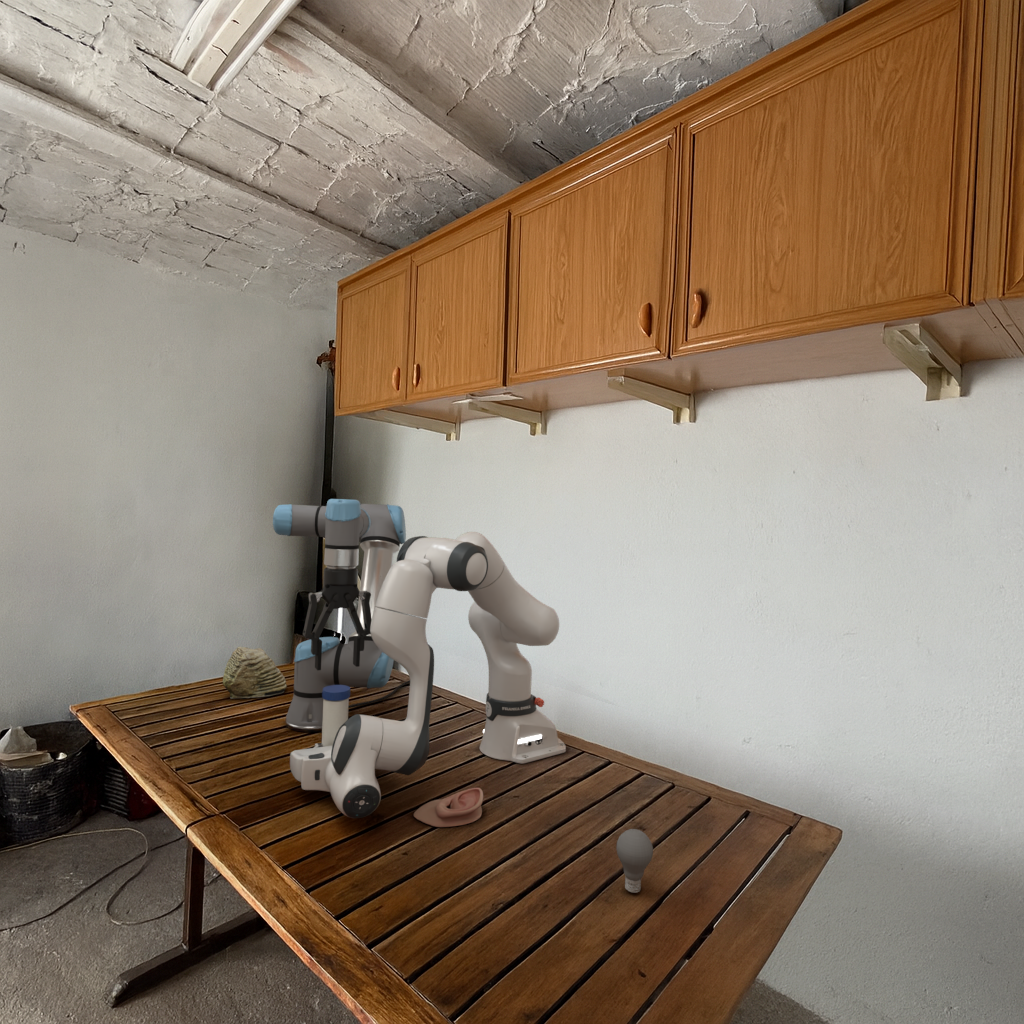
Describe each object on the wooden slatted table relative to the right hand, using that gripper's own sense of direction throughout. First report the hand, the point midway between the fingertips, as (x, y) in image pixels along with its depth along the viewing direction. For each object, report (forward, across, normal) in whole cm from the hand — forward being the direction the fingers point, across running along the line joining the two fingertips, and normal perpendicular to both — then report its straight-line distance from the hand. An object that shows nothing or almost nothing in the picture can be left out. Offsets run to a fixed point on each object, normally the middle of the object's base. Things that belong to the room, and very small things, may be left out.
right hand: (333, 744), depth 145 cm
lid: (-1, 0, -13) cm, 13 cm away
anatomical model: (-27, -18, +7) cm, 34 cm away
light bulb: (-62, -38, +7) cm, 73 cm away
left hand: (-1, 0, -18) cm, 18 cm away
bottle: (-1, 0, +7) cm, 7 cm away
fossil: (+65, +12, +7) cm, 66 cm away
